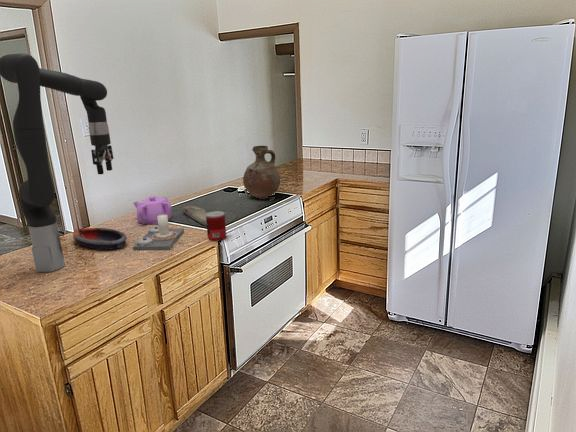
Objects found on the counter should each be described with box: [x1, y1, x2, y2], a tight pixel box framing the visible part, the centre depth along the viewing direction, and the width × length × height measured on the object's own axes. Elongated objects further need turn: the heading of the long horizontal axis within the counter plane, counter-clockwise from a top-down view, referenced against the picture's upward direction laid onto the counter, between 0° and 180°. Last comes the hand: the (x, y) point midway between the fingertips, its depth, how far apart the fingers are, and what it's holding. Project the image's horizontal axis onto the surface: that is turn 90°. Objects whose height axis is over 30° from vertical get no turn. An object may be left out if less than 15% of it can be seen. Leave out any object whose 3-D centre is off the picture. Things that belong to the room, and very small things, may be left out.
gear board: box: [132, 225, 185, 251], centre depth 188 cm, size 23×15×4 cm, turn 178°
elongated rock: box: [182, 205, 209, 227], centre depth 220 cm, size 35×5×10 cm
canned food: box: [206, 210, 227, 241], centre depth 188 cm, size 8×8×11 cm
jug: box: [242, 145, 281, 199], centre depth 253 cm, size 22×22×30 cm
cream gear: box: [155, 215, 174, 239], centre depth 187 cm, size 8×8×10 cm
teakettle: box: [133, 195, 173, 225], centre depth 217 cm, size 17×17×12 cm
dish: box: [72, 227, 128, 250], centre depth 187 cm, size 16×31×5 cm, turn 56°
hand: (105, 172), depth 183 cm, fingers open, 8 cm apart
